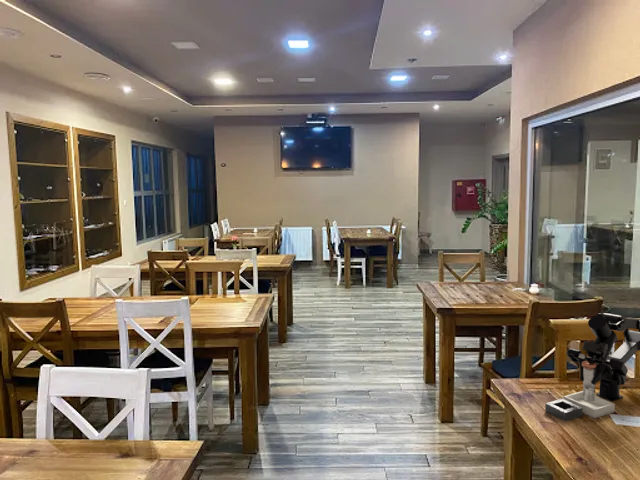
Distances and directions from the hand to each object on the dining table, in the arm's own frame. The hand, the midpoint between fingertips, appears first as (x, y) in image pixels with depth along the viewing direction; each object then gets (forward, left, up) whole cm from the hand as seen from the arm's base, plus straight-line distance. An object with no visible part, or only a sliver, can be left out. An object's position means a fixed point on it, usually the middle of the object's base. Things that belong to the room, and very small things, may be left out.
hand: (587, 382), depth 165 cm
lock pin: (-1, 0, -7) cm, 7 cm away
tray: (-1, 0, -10) cm, 10 cm away
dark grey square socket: (+10, -1, -10) cm, 14 cm away
